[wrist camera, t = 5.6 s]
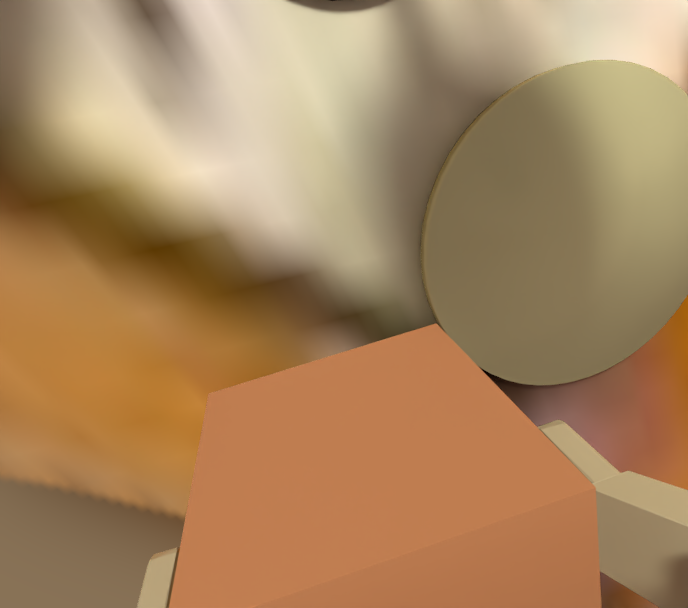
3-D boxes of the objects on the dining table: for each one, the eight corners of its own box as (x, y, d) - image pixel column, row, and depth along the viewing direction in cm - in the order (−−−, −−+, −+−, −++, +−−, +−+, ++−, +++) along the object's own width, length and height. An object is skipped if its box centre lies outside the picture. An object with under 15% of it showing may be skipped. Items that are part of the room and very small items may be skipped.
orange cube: (436, 323, 10) (595, 487, 5) (468, 496, 12) (607, 730, 7) (208, 393, 9) (162, 639, 5) (279, 560, 11) (295, 854, 7)
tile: (710, 25, 19) (729, 20, 18) (698, 326, 24) (712, 332, 23) (389, 114, 17) (395, 112, 17) (449, 414, 22) (456, 424, 22)
